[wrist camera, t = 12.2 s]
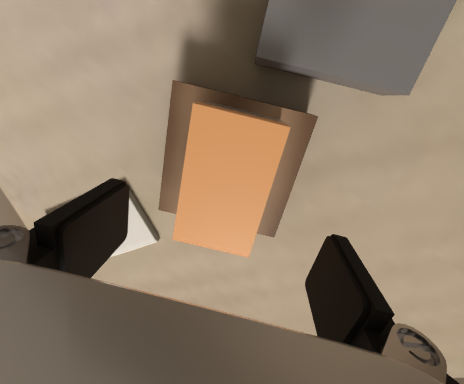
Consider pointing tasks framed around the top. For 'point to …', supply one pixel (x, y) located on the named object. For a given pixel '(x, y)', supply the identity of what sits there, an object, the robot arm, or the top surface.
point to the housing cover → (227, 177)
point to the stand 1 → (190, 94)
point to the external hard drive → (137, 229)
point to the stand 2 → (353, 40)
